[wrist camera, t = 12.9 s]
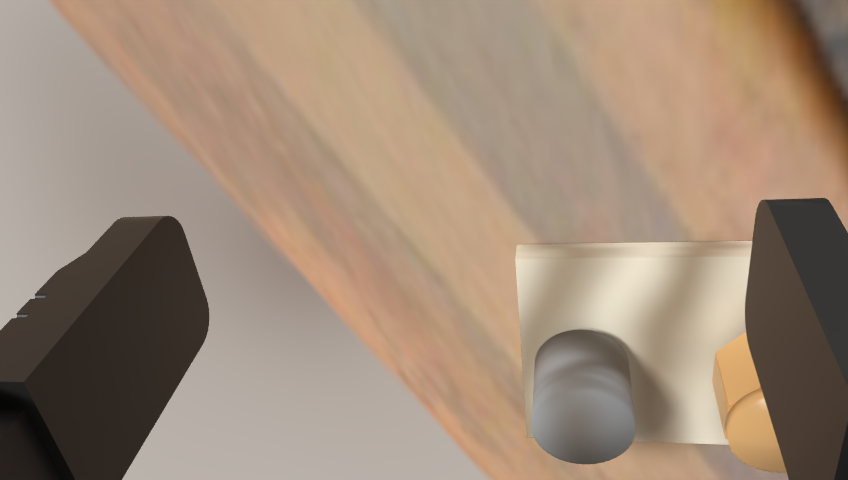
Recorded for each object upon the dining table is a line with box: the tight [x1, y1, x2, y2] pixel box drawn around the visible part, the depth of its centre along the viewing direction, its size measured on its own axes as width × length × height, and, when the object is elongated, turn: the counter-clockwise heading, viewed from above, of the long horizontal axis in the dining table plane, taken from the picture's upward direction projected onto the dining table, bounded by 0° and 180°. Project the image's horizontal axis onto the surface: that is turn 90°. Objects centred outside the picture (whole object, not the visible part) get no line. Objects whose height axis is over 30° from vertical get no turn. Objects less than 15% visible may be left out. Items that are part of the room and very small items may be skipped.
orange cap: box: [712, 332, 787, 473], centre depth 41 cm, size 6×6×5 cm
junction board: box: [515, 241, 752, 464], centre depth 43 cm, size 17×14×7 cm
